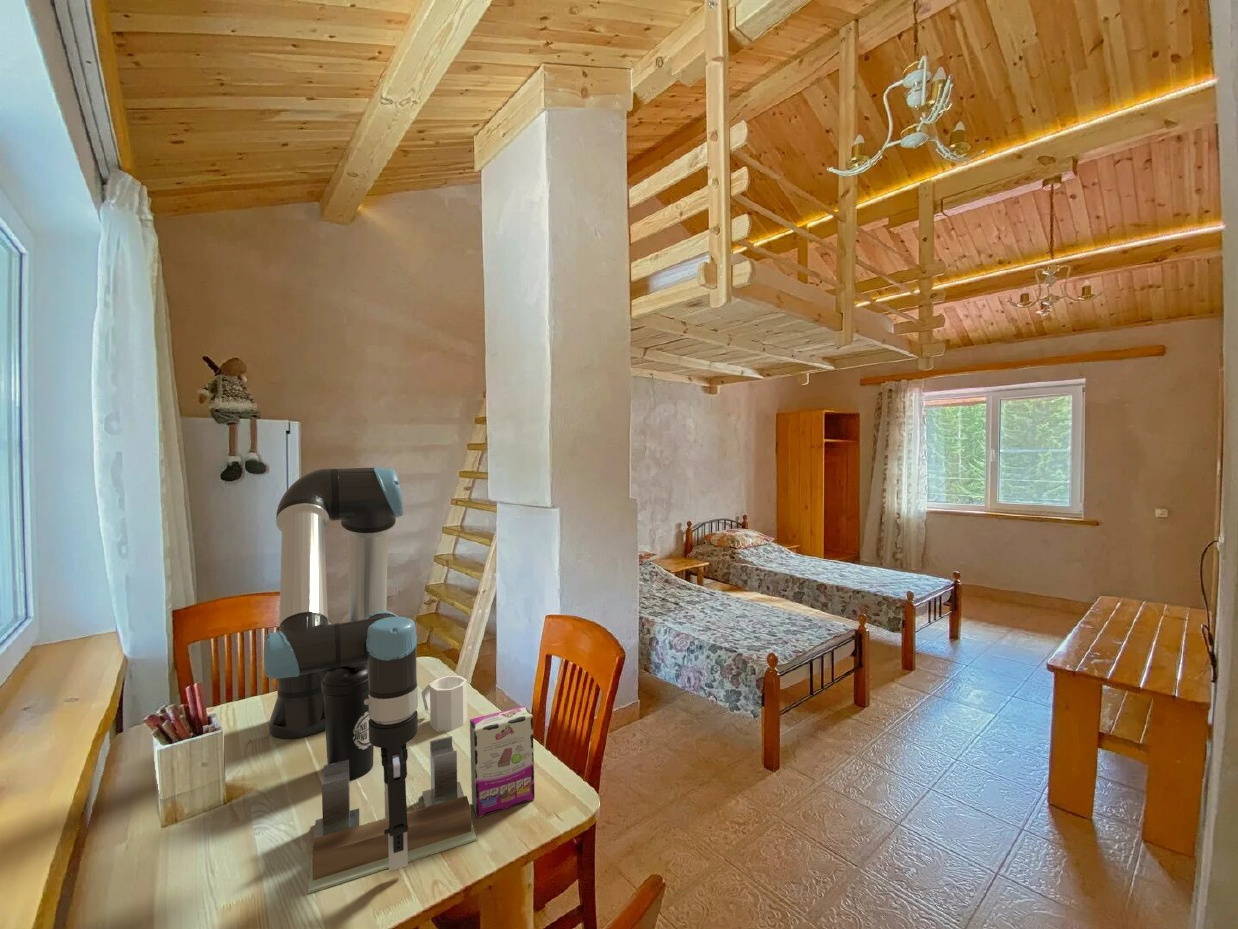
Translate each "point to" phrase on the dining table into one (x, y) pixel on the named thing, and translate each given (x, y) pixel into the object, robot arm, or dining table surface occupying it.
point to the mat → (387, 862)
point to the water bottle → (348, 718)
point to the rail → (373, 845)
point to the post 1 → (336, 801)
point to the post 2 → (442, 773)
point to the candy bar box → (502, 760)
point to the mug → (446, 702)
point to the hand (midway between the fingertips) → (395, 840)
